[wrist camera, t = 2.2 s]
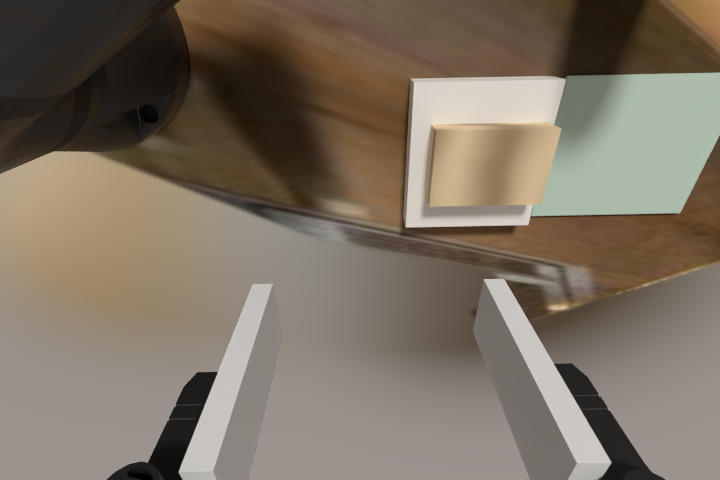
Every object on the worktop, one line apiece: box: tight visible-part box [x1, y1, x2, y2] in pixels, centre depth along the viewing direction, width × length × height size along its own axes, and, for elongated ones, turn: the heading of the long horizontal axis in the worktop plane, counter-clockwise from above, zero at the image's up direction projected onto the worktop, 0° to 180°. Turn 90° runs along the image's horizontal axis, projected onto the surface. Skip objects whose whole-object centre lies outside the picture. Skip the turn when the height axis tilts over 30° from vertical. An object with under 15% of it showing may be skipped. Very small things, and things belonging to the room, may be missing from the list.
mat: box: [531, 73, 720, 216], centre depth 30 cm, size 14×12×1 cm
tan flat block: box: [425, 122, 561, 207], centre depth 28 cm, size 9×6×2 cm, turn 91°
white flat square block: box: [403, 76, 566, 227], centre depth 30 cm, size 11×12×2 cm
